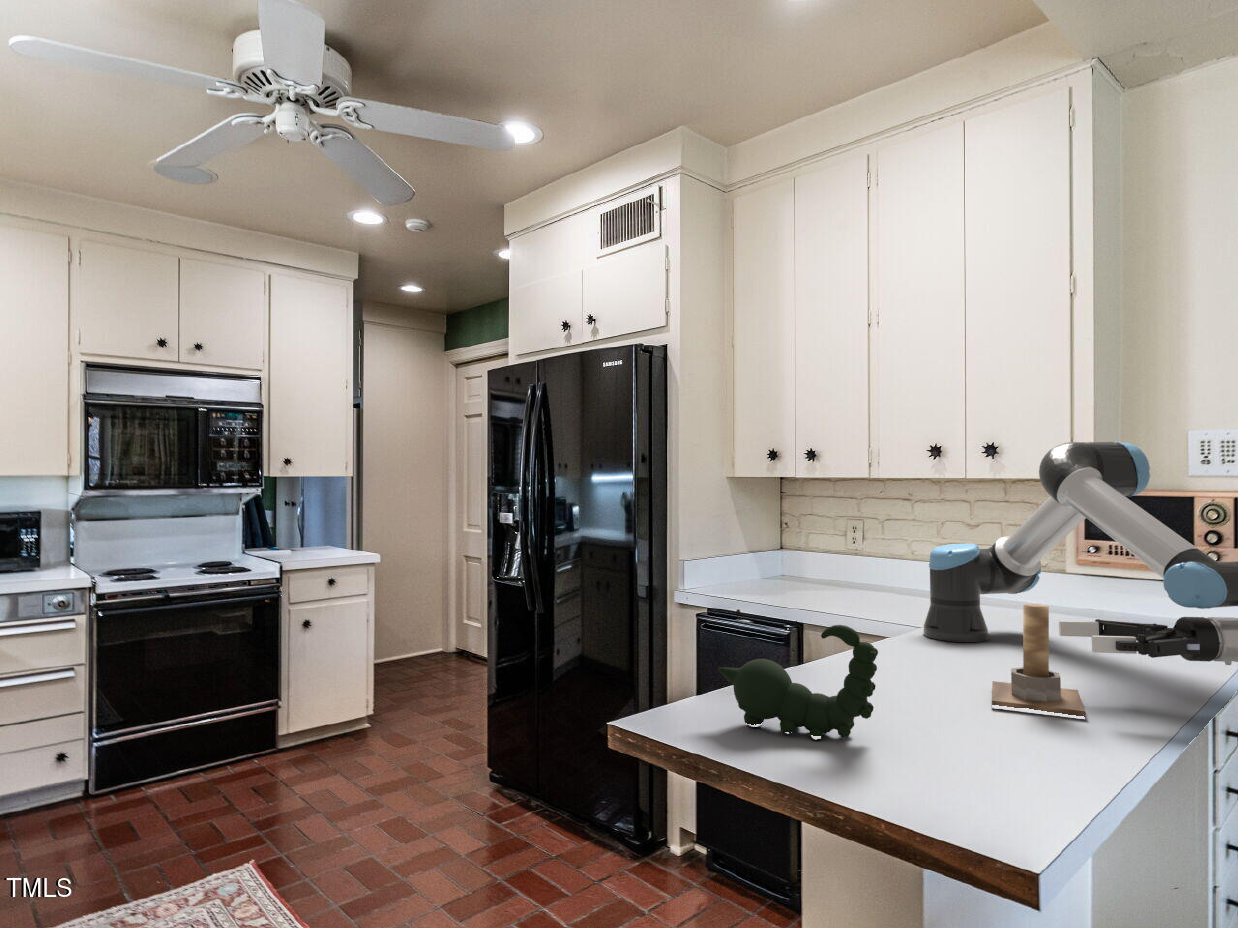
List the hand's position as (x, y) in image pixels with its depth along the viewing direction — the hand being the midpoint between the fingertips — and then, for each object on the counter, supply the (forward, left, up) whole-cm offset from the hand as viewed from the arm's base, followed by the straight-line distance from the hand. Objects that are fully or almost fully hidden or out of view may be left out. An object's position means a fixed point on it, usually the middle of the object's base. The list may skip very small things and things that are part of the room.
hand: (1075, 635), depth 133 cm
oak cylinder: (-6, -2, -11) cm, 13 cm away
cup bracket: (-6, -2, -12) cm, 14 cm away
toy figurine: (-41, -36, -13) cm, 56 cm away
